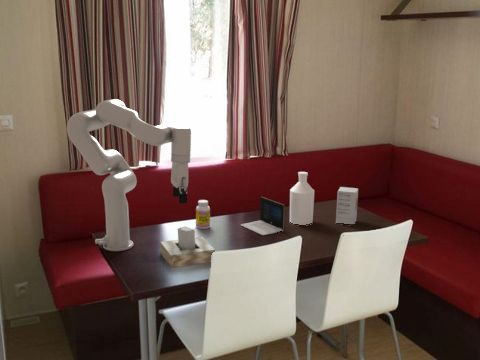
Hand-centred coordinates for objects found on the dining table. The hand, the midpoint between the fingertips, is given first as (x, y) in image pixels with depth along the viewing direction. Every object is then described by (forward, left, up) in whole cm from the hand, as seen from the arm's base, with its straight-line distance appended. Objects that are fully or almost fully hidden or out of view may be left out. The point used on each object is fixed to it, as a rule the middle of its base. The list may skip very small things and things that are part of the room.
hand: (179, 199), depth 215 cm
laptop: (+45, +19, -24) cm, 55 cm away
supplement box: (+89, +13, -24) cm, 93 cm away
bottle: (+68, +21, -24) cm, 75 cm away
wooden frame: (+2, -4, -23) cm, 24 cm away
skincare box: (+2, -4, -24) cm, 24 cm away
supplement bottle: (+20, +30, -24) cm, 43 cm away
